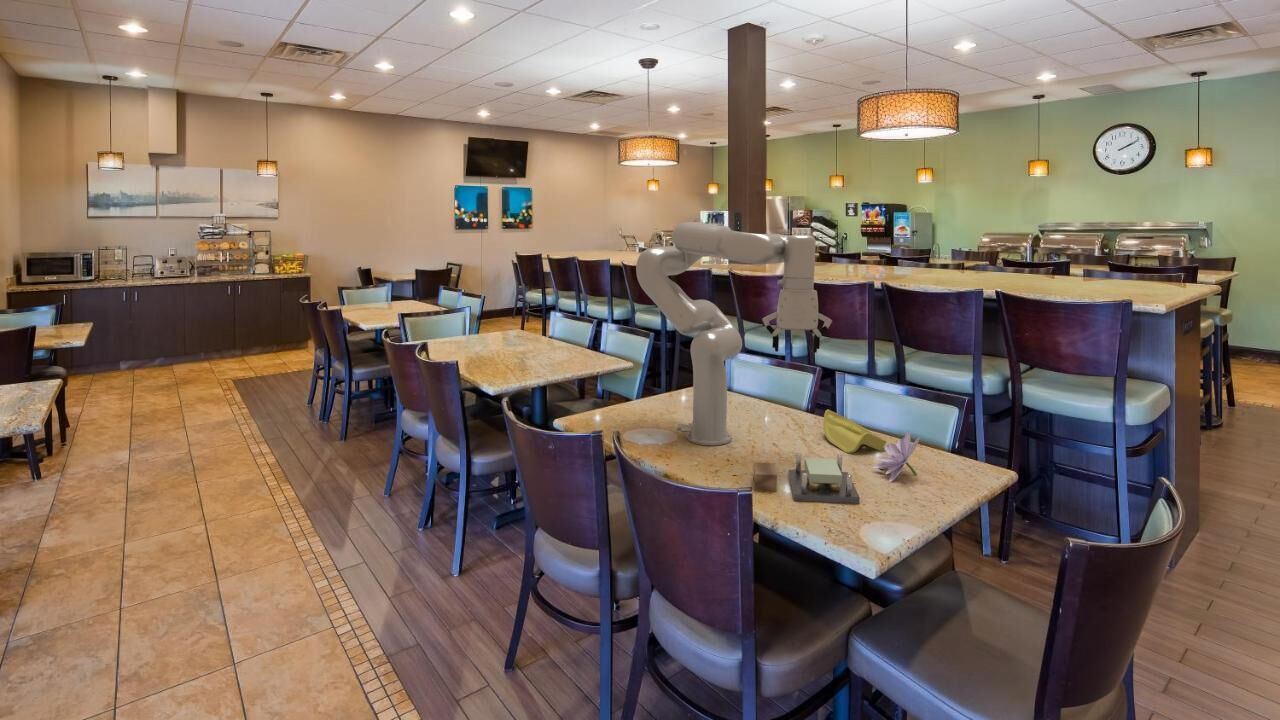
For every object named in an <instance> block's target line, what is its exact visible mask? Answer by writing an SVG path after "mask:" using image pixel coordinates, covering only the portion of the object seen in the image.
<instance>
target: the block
mask: <svg viewBox="0 0 1280 720" xmlns="http://www.w3.org/2000/svg"><path fill="white" fill-rule="evenodd" d="M752 475H753V476H752V477H753V480H752V481H753V487H754V488H753V489H754V491H755V492H773V493H774V492H777V490H778V489H777V488H778V471H777V466H776V463H774V462H772V463H771V462H753V474H752Z"/></svg>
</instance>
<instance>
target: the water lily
mask: <svg viewBox="0 0 1280 720" xmlns="http://www.w3.org/2000/svg"><path fill="white" fill-rule="evenodd" d="M919 441H920V437H918V438H916V439H915V440H914V442H912V441H911V431H910V429H908V430H907V432H906V434H905V435H904V437H902V439H901V438H899V439H898V440H897V442H896V444H895V443H893V442H889V444H885V445H884V448H885V449H884V451H885V452H886V453H887V455H888V456H882V457H879V458H877V460H878V461H881V462H880V463H878V464H876V465H874V466H873V467H872V469H875V470H885V469H887V471H886V472H885V475H888V474H890V477H889V480H888V482H890V483H892V482H893V481H894V480H895V479H896V478H897V477H898V476H899V475H900V474H901V472H902V471H903V468H904V466H905V465H906V466H907V467H908V468H909V470H910V471H911V473H913V475H914V476H917V475H918V473H917V472H916V470H915V469H914V468H913V467H912V466H911V464H910V463H909V462H908V461H909V458H910V457H911V455H912V454H913V453H914V451H915V450H916V449H917V446H918V444H919ZM889 456H890V457H889Z"/></svg>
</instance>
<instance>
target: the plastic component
mask: <svg viewBox="0 0 1280 720" xmlns="http://www.w3.org/2000/svg"><path fill="white" fill-rule="evenodd" d="M822 422H823V424H822V425H823V431H824V435H825V437H826V439H827V440H828V441H829V442H830V443H831V444H833V445H834V446H836V447H837V448H839V449H840V450H842V452H845V453H847V454H853V453H855V452H857V451H858V449H859V448H860V446H862V445H866V446H867V447H869V448H871V449H874V450H877V451H882V450H883V449H884V448H885V446H886V445H887V440H886V439H883V438H882V437H880V436H879V435H877V434H875V433H873V432H872V431H871V430H869V429H867V428H865V427H863V426H862V425H861V424H858V423H856V422H855V421H854V420H851V419H849V418H847V417H845V416H844V415H841V414H839V413H837V412H835V411H832V410H831V409H826V410H825V412H824V414H823V421H822Z"/></svg>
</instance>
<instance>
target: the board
mask: <svg viewBox="0 0 1280 720" xmlns="http://www.w3.org/2000/svg"><path fill="white" fill-rule="evenodd" d="M804 469H805V470H806V473H808V479H809V482H813V483H835V484H842V474H841V471H840V469H839V467H838V465H837V459H835V458H817V457H805V458H804Z"/></svg>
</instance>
